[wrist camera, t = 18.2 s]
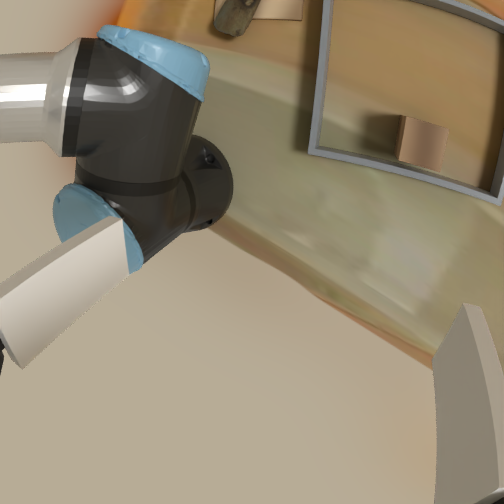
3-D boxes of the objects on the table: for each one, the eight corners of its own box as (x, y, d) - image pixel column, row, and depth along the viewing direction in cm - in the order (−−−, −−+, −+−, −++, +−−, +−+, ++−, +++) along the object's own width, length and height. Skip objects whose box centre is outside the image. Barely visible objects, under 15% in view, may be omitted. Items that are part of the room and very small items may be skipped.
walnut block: (393, 152, 35) (398, 160, 30) (400, 114, 32) (406, 116, 27) (429, 162, 34) (440, 172, 29) (437, 125, 31) (449, 129, 26)
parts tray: (311, 150, 38) (307, 153, 36) (328, -19, 27) (325, -27, 24) (492, 199, 32) (500, 206, 29) (516, 35, 20) (525, 31, 18)
